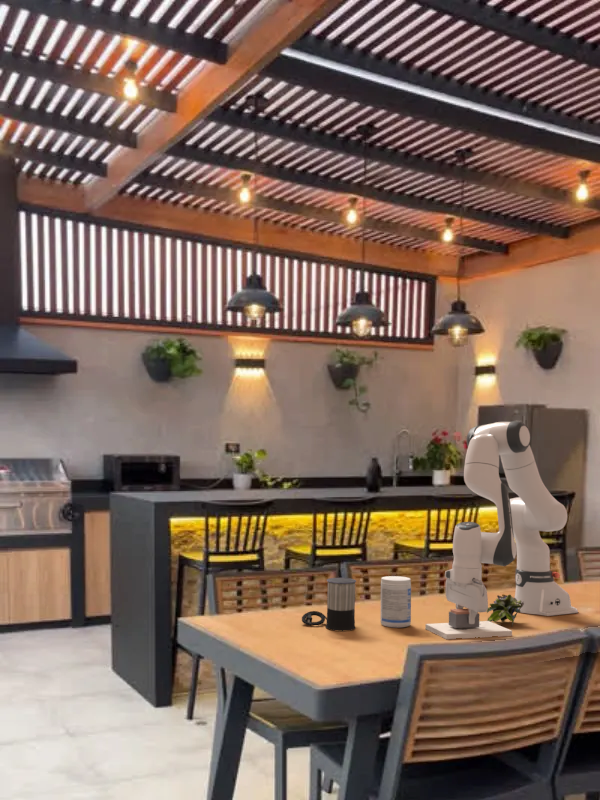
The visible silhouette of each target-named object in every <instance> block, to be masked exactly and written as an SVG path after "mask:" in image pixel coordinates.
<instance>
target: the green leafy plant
mask: <svg viewBox="0 0 600 800" xmlns="http://www.w3.org/2000/svg"><path fill="white" fill-rule="evenodd" d="M496 597H497V598H496V599H495V600H494V601H493V602H492V603H489V606H490V607H489V606H488V610H487V612H486V614H488V613H489V612H492V613H490V615H489V616H488V617H487V620H486V621H490V622H493V623H496V622H497V621H498V622H499V621H501V622H505V621H506V620H509V621H510V622H511V627H513V625H514V622H515V619H516V618H517V614H518V613H519V614H520V613H521V612H520V609H521V607H523V605H524V603H523V602H522V603H521V600H519V601H517V599H516V598H515V597H514V596H512V594H510V593H509V594H508V595H507V594H504V593H503V594H501V595H499V594H498V595H497V596H496ZM517 603H518V604H517ZM519 604H521V605H519ZM518 608H519V609H518ZM514 613H515V614H514Z"/></svg>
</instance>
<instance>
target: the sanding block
mask: <svg viewBox="0 0 600 800" xmlns="http://www.w3.org/2000/svg"><path fill="white" fill-rule="evenodd" d="M469 614H470V613H469V609H468V608H463V609H456V608H450V611H448V623H449V625H450V626H452V627H454V628H469V627H479V621H480V612H477V615H476V617H475V623H474V624H469V623H467V617H469Z"/></svg>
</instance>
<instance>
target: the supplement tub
mask: <svg viewBox="0 0 600 800" xmlns="http://www.w3.org/2000/svg"><path fill="white" fill-rule="evenodd" d="M380 580H381V581H380V624H381V625H382V626H384V627H388V628H397V629H399V628H401V629H402V628H407V627H409V626H410V625H411V624H412V621H411V620H412V581H411V580H412V579H411V578H410V577H406V576H400V575H399V576H397V575H396V576H395V575H391V576H389V575H388V576H387V575H386V576H381V579H380Z"/></svg>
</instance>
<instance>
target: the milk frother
mask: <svg viewBox="0 0 600 800" xmlns="http://www.w3.org/2000/svg"><path fill="white" fill-rule="evenodd" d="M326 581H327V593H326V594H327V595H326V596H327V599H326V601H327V602H326V603H327V604H326V609H327V611H326V615H325V614H324V613H322V612H321V611H318V610H317V611H316V610H312V611H307V612H305V613H304V614H303V615H302V616H301V621H302V623H303V624H305V625H307V626H311V625H318V626H321V625H322V624H324V623H325V621H326V624H325V628H326V629H327V628H328V630H330V629H332V630H331V631H335V630H342V631H341V632H344V631H343V630H350V631H354V630H356V626H355V625H356V620H355V614H356V613H355V612H356V610H355V607H356V583H357V580H356V579H353V578H349V577H330V578H327V579H326ZM312 616H316V617H319V618H320V620H318V621H313V617H312ZM353 629H354V630H353Z"/></svg>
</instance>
